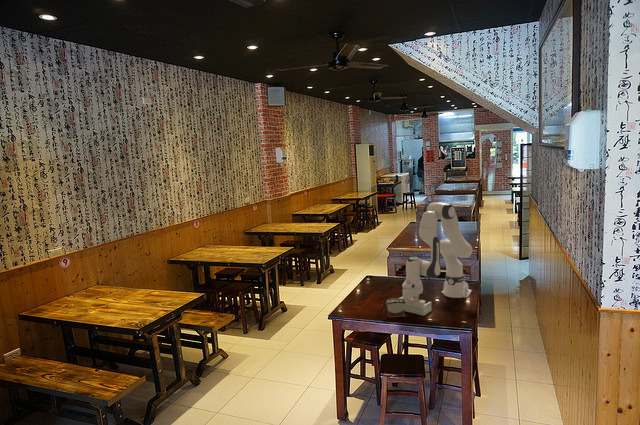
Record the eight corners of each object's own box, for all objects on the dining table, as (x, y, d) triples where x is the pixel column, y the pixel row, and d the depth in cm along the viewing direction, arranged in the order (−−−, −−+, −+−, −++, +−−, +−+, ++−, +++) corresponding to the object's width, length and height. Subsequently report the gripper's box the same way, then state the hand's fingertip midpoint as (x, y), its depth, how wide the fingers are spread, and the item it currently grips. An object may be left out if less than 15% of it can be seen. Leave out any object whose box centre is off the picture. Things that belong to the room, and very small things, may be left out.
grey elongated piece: (403, 304, 287) (403, 295, 286) (431, 310, 273) (431, 301, 272) (395, 308, 279) (395, 299, 279) (423, 315, 266) (423, 306, 265)
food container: (403, 312, 272) (403, 297, 271) (406, 316, 266) (405, 300, 265) (384, 313, 272) (384, 298, 271) (386, 317, 266) (386, 301, 265)
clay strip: (404, 305, 283) (404, 296, 282) (425, 309, 273) (425, 300, 272) (401, 306, 280) (401, 298, 279) (422, 311, 270) (422, 302, 269)
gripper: (416, 277, 284) (416, 297, 285) (400, 285, 268) (400, 306, 270) (425, 279, 279) (425, 299, 281) (409, 287, 264) (409, 308, 266)
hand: (413, 303), depth 276 cm, fingers open, 6 cm apart
